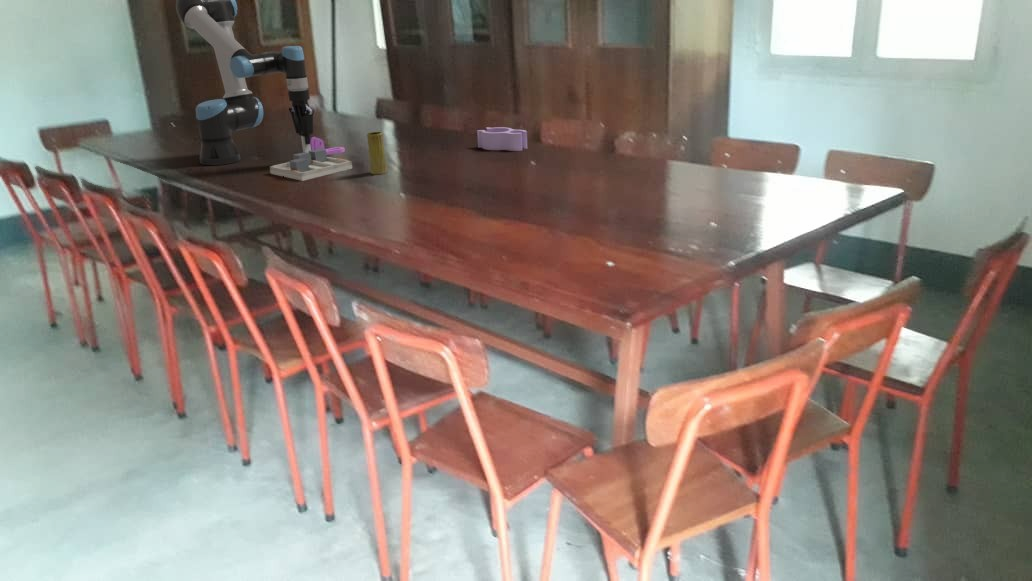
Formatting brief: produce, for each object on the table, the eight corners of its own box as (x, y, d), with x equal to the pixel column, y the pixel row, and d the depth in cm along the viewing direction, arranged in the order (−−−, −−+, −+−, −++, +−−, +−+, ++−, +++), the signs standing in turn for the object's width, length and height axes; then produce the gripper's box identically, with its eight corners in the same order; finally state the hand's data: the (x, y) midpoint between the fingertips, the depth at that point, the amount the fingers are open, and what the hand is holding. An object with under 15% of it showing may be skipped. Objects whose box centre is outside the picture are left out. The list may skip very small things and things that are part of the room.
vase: (371, 175, 285) (366, 135, 280) (369, 171, 291) (365, 132, 285) (388, 173, 287) (384, 133, 281) (386, 170, 292) (382, 130, 287)
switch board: (270, 173, 294) (269, 165, 293) (320, 162, 309) (319, 154, 308) (302, 180, 281) (301, 172, 280) (352, 168, 297) (351, 160, 295)
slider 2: (291, 171, 287) (289, 160, 286) (302, 169, 291) (301, 158, 289) (297, 173, 285) (295, 162, 283) (309, 170, 288) (307, 159, 287)
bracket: (316, 156, 319) (314, 139, 317) (311, 154, 323) (309, 137, 321) (347, 151, 326) (344, 134, 323) (341, 149, 330) (339, 133, 328)
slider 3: (310, 161, 302) (308, 151, 301) (320, 159, 305) (319, 148, 304) (316, 162, 300) (314, 152, 298) (327, 160, 303) (325, 149, 301)
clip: (532, 146, 321) (532, 129, 318) (516, 153, 311) (515, 135, 309) (491, 143, 331) (490, 126, 329) (474, 149, 321) (473, 131, 319)
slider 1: (294, 165, 297) (292, 154, 296) (305, 162, 301) (304, 152, 299) (300, 166, 295) (299, 155, 293) (311, 163, 298) (310, 153, 297)
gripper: (279, 90, 299) (289, 152, 307) (299, 91, 290) (309, 156, 299) (296, 87, 304) (305, 149, 312) (317, 89, 296) (325, 152, 304)
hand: (307, 152), depth 306 cm, fingers closed
